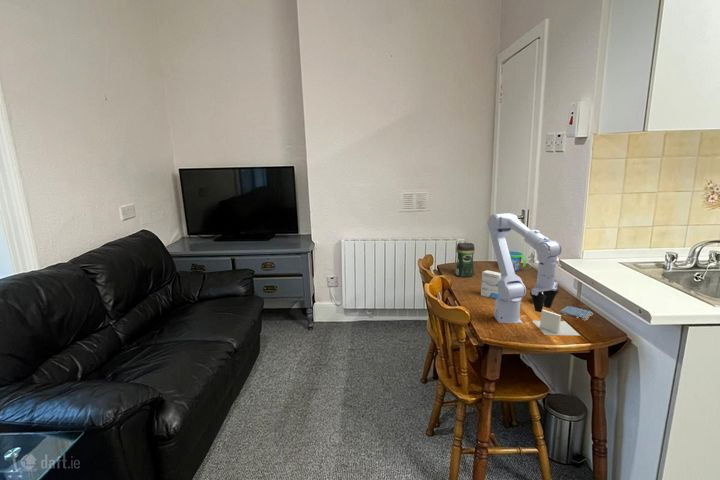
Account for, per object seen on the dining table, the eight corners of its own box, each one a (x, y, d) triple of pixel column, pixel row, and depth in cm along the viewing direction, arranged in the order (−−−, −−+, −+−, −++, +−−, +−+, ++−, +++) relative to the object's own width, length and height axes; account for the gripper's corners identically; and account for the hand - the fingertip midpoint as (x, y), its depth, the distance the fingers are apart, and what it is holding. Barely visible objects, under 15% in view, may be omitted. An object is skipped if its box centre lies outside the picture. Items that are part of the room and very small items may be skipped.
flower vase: (544, 295, 193) (549, 244, 188) (563, 309, 175) (569, 254, 170) (517, 295, 193) (521, 244, 188) (533, 309, 175) (539, 254, 170)
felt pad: (544, 335, 150) (544, 334, 150) (531, 321, 163) (532, 320, 162) (580, 336, 149) (580, 335, 149) (564, 322, 162) (564, 321, 162)
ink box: (501, 296, 191) (503, 273, 188) (497, 299, 187) (499, 275, 185) (485, 292, 196) (486, 269, 194) (480, 295, 193) (481, 271, 190)
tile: (557, 333, 151) (559, 315, 149) (539, 327, 156) (541, 310, 155) (559, 332, 152) (561, 315, 150) (541, 326, 157) (543, 309, 156)
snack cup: (494, 268, 238) (496, 251, 236) (506, 265, 244) (507, 249, 242) (517, 274, 225) (518, 257, 223) (529, 271, 231) (530, 254, 229)
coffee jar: (470, 273, 228) (472, 241, 224) (475, 277, 221) (477, 244, 217) (453, 273, 228) (455, 241, 224) (457, 277, 220) (459, 244, 216)
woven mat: (558, 315, 170) (558, 311, 170) (567, 308, 177) (568, 304, 177) (585, 322, 163) (585, 318, 162) (593, 315, 170) (594, 311, 170)
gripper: (546, 280, 138) (542, 317, 140) (567, 273, 146) (563, 308, 149) (527, 275, 143) (524, 311, 146) (548, 268, 152) (545, 302, 155)
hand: (542, 309), depth 148 cm, fingers open, 6 cm apart
